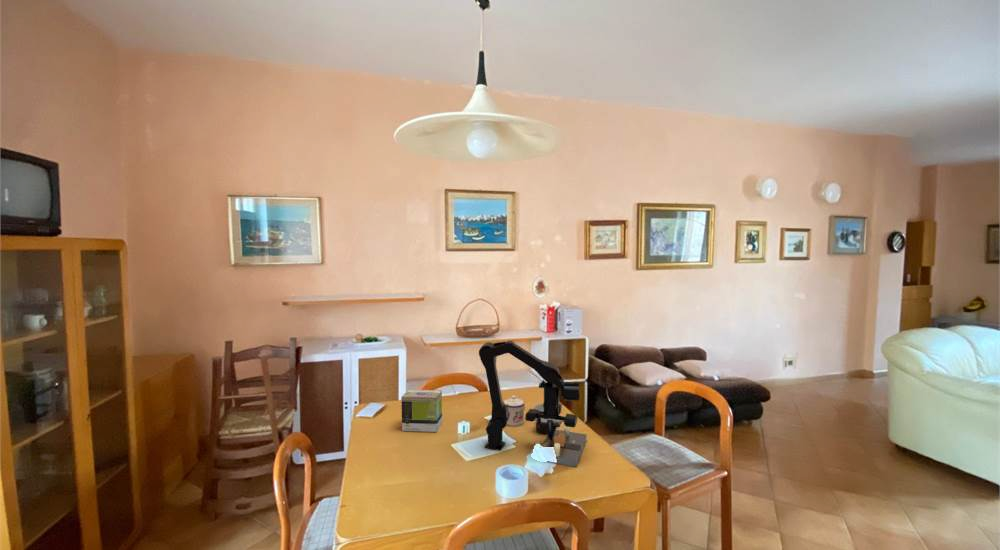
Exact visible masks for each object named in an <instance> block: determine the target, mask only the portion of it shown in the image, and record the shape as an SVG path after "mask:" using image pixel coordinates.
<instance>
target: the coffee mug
mask: <svg viewBox="0 0 1000 550" xmlns="http://www.w3.org/2000/svg"><path fill="white" fill-rule="evenodd" d="M533 409H536V410H539V413H542V414H544V407H543V403H538V404H535V405H534V406H533ZM534 421H535V431H536V433H538V434H540V435H546V436H548V435H547V433H546V430H545V429H544V427H543V425H540V423H541V419H539V418H535V420H534ZM552 423H553V420H551V425H552Z"/></svg>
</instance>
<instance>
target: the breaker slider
mask: <svg viewBox="0 0 1000 550" xmlns="http://www.w3.org/2000/svg"><path fill="white" fill-rule="evenodd" d="M555 443H559V444H560V447H564V445H565V443H566V434H564V433H558V432H556V434H555V436H554V444H555Z"/></svg>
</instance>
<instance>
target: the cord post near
mask: <svg viewBox="0 0 1000 550" xmlns="http://www.w3.org/2000/svg"><path fill="white" fill-rule="evenodd" d="M554 450H555V454H556V457H559V456H560V444H559V443H555V444H554Z"/></svg>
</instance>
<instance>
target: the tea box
mask: <svg viewBox="0 0 1000 550" xmlns="http://www.w3.org/2000/svg"><path fill="white" fill-rule="evenodd" d="M442 394H443V392H442V390H440V389H436V390H435V389H408V390H407V391H406V392H405V393H404V394H403V395H401V399H400V400H401V431H402V432H403V431H404V432H425V433H426V432H429V433H431V432H432V433H437V432H438V431H439V429H440V427H441V426H442V425H443V399H442V398H443V395H442Z"/></svg>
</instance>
